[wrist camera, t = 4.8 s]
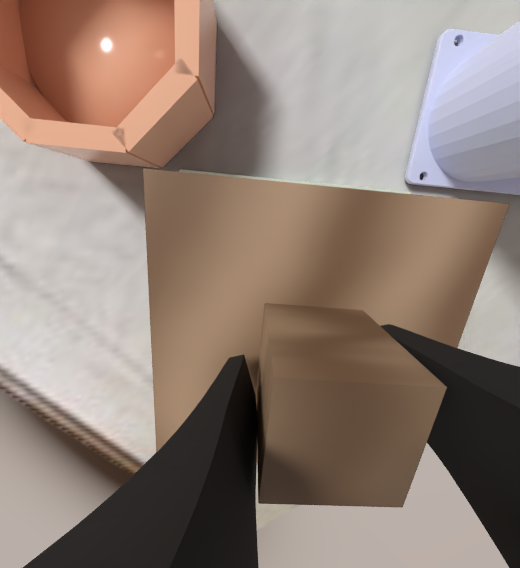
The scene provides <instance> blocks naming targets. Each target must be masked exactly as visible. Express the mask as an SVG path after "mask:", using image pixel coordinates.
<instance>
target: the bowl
mask: <svg viewBox="0 0 520 568" xmlns="http://www.w3.org/2000/svg"><path fill="white" fill-rule="evenodd" d="M216 39H217V21H216V16H215V11H214V5H213V0H0V119H1V120H2V121H3V122H4V123H5V124H6V125H7V126H8V127H9V128H10V129H11V130H12V131H13V132H14V133H15V134H16V135H18V136H19V137H20V138H21V139H22V140H23V141H24V142H26V143H29V144H32V145H36V146H39V147H42V148H46V149H49V150H53V151H56V152H59V153H63V154H66V155H70V156H73V157H76V158H80V159H83V160H87V161H90V162H100V163H111V164H121V165H131V166H141V167H151V168H161V167H162V168H163V167H164V166H165V165H166V164H167V163H168V162H169V161H170V160H171V159H172V158H173V157H174V156H175V155H176V154H177V153H178V152H179V151H180V150H181V149H182V148H183V147H184V146H185V145H186V144H187V143H188V142H189V141H190V140H191V139H192V138H193V137H194V136H195V135H196V134H197V133H198V132H199V131H200V130H201V129H202V128H203V127H204V126H205V125H206V124H207V123H208V122H209V121H210V120H211V119H212V118H213V115H214V109H215V74H216ZM212 114H213V115H212Z"/></svg>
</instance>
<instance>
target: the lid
mask: <svg viewBox="0 0 520 568" xmlns="http://www.w3.org/2000/svg"><path fill="white" fill-rule="evenodd" d="M143 180H144V201H145V221H146V242H147V263H148V284H149V305H150V326H151V347H152V367H153V388H154V409H155V430H156V451H158V450H159V449H160V448H161V447H162V446H163V445H164V444H165V443H166V442H167V441H168V440H169V439H170V437H171V436H172V435H173V434H174V433H175V432H176V431H177V430H178V428H179V427H180V426H181V425H182V424H183V423H184V421H185V420H186V419H187V418H188V416H189V415H190V414H191V412H192V411H193V410H194V408H195V407H196V406H197V404H198V403H199V402H200V400H201V399H202V398H203V396H204V395H205V393H206V392H207V391H208V389H209V388H210V386H211V385H212V383H213V382H214V380H215V379H216V377H217V375H218V374H219V372H220V371H221V369H222V368H223V366H224V365H225V363H226V362H227V360H228V359H229V357H234V356H239V355H245V359H246V363H247V366H248V370H249V373H250V377H251V381H252V384H253V388H254V391H255V395H256V404H257V462H258V500H259V503H262V504H298V505H335V506H336V505H337V506H371V507H375V506H376V507H403V505H404V502H405V499H406V497H407V494H408V491H409V489H410V486H411V483H412V480H413V478H414V475H415V472H416V470H417V467H418V464H419V461H420V459H421V456H422V453H423V451H424V448H425V445H426V443H427V440H428V437H429V435H430V432H431V429H432V426H433V424H434V421H435V418H436V416H437V413H438V410H439V408H440V405H441V402H442V399H443V397H444V394H445V391H446V389H447V387H446V386H445V385H444V384H443V383H442V382H441V381H440V380H439V379H437V378H436V377H435V376H434V375H433V374H432V373H431V372H430V371H429V370H428V369H427V368H425V367H424V366H423V365H422V364H421V363H420V362H419V361H418V360H417V359H416V358H415V357H413V356H412V355H411V354H410V353H409V352H408V351H407V350H406V349H405V348H404V347H402V346H401V345H400V344H399V343H398V342H397V341H396V340H395V339H394V338H392V337H391V336H390V335H389V334H388V333H387V332H386V331H385V330H384V329H383V328H382V327H381V326H382V325H387V324H391V325H394V326H397V327H400V328H403V329H406V330H408V331H411V332H414V333H416V334H419V335H422V336H425V337H427V338H430V339H433V340H435V341H438V342H441V343H444V344H446V345H449V346H452V347H455V348H457V347H458V344H459V341H460V338H461V336H462V333H463V330H464V327H465V325H466V322H467V319H468V316H469V314H470V311H471V308H472V305H473V303H474V300H475V297H476V294H477V292H478V289H479V286H480V283H481V281H482V278H483V275H484V272H485V270H486V267H487V264H488V261H489V259H490V256H491V253H492V250H493V248H494V245H495V242H496V239H497V237H498V234H499V231H500V229H501V226H502V223H503V220H504V218H505V215H506V212H507V209H508V207H509V204H506V203H495V202H485V201H475V200H465V199H454V198H444V197H434V196H423V195H413V194H403V193H392V192H382V191H372V190H362V189H351V188H341V187H331V186H320V185H310V184H300V183H289V182H279V181H269V180H258V179H248V178H238V177H228V176H217V175H207V174H197V173H186V172H176V171H166V170H155V169H145V168H143Z"/></svg>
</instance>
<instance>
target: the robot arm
mask: <svg viewBox="0 0 520 568" xmlns="http://www.w3.org/2000/svg"><path fill="white" fill-rule="evenodd" d="M454 39H455V40H457V42H458V46H455V44H454ZM421 173H423V179H422V180H420V174H421ZM405 180H406V182H407V183H408V184H413V185H423V186H433V187H443V188H453V189H463V190H473V191H483V192H493V193H503V194H513V195H520V21H518V22H517V23H515V24H514V25H513V26H511V27H510V28H508V29H507V30H505V31H504V32H503V33H501V34H500V35H495V34H487V33H480V32H473V31H465V30H458V29H448V30H447V31H445V32H444V33H443V34H442V35H441V36H440V37H439V39H438V41H437V45H436V49H435V53H434V57H433V61H432V66H431V70H430V74H429V78H428V82H427V86H426V91H425V95H424V99H423V103H422V107H421V112H420V116H419V120H418V124H417V128H416V132H415V137H414V141H413V145H412V149H411V153H410V158H409V162H408V166H407V170H406V174H405ZM381 327H382V328H383V329H384V330H385V331H386V332H387V333H388V334H389V335H390V336H391V337H392V338H394V339H395V340H396V341H397V342H398V343H399V344H400V345H401V346H402V347H404V348H405V349H406V350H407V351H408V352H409V353H410V354H411V355H412V356H413V357H415V358H416V359H417V360H418V361H419V362H420V363H421V364H422V365H423V366H424V367H425V368H427V369H428V370H429V371H430V372H431V373H432V374H433V375H434V376H435V377H436V378H437V379H439V380H440V381H441V382H442V383H443V384H444V385H445V386H446V387H447V389H446V391H445V394H444V397H443V399H442V402H441V405H440V408H439V410H438V413H437V416H436V418H435V421H434V424H433V426H432V429H431V432H430V435H429V437H428V440H427V443H428V444H429V445H430V447H431V448H432V449H433V451H434V452H435V453H436V455H437V456H438V457H439V459H440V460H441V461H442V463H443V464H444V466H445V467H446V468H447V470H448V471H449V473H450V474H451V476H452V477H453V479H454V480H455V482H456V484H457V485H458V486H459V488H460V490H461V491H462V493H463V494H464V496H465V497H466V499H467V500H468V502H469V503H470V505H471V506H472V508H473V509H474V511H475V513H476V515H477V516H478V518H479V519H480V521H481V522H482V524H483V525H484V527H485V529H486V530H487V532H488V534H489V535H490V537H491V538H492V540H493V542H494V543H495V545H496V546H497V548H498V550H499V551H500V553H501V554H502V556H503V558H504V559H505V561H506V563H507V564H508V566H509V568H520V367H518V366H514V365H510V364H506V363H503V362H499V361H496V360H492V359H489V358H486V357H483V356H479V355H476V354H473V353H470V352H467V351H464V350H461V349H458V348H455V347H452V346H449V345H446V344H444V343H441V342H438V341H435V340H433V339H430V338H427V337H425V336H422V335H419V334H416V333H414V332H411V331H408V330H406V329H403V328H400V327H397V326H394V325H391V324H387V325H382V326H381ZM256 462H257V404H256V395H255V391H254V388H253V384H252V381H251V377H250V373H249V370H248V366H247V363H246V359H245V355H239V356H234V357H229V359H228V360H227V362H226V363H225V365H224V366H223V368H222V369H221V371H220V372H219V374H218V375H217V377H216V379H215V380H214V382H213V383H212V385H211V386H210V388H209V389H208V391H207V392H206V393H205V395H204V396H203V398H202V399H201V400H200V402H199V403H198V404H197V406H196V407H195V408H194V410H193V411H192V412H191V414H190V415H189V416H188V418H187V419H186V420H185V421H184V423H183V424H182V425H181V426H180V427H179V428H178V430H177V431H176V432H175V433H174V434H173V435H172V436H171V437H170V439H169V440H168V441H167V442H166V443H165V444H164V445H163V446H162V447H161V448H160V449H159V450H158V451H157V452H156V453H155V454H154V455H153V456H152V457H151V458H150V459H149V460H148V461H147V462H146V463H145V464H144V465H143V466H142V467H141V468H140V469H139V470H138V471H137V472H136V473H135V474H134V475H133V476H132V477H131V478H130V479H129V480H128V481H127V482H126V483H125V484H124V485H123V486H121V487H120V488H119V489H118V490H117V491H116V492H115V493H114V494H113V495H112V496H110V497H109V498H108V499H107V500H106V501H105V502H103V503H102V504H101V505H100V506H99V507H98V508H96V509H95V510H94V511H93V512H92V513H91V514H89V515H88V516H87V517H86V518H85V519H83V520H82V521H81V522H80V523H79V524H78V525H76V526H75V527H74V528H73V529H71V530H70V531H69V532H68V533H66V534H65V535H64V536H62V537H61V538H60V539H59V540H57V541H56V542H55V543H54V544H52V545H51V546H50V547H48V548H47V549H46V550H45V551H43V552H42V553H41V554H40V555H38V556H37V557H36V558H35V559H33V560H32V561H31V562H29V563H28V564H27V565H26V566H24V567H23V568H258V552H257V530H256V507H255V489H256Z"/></svg>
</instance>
